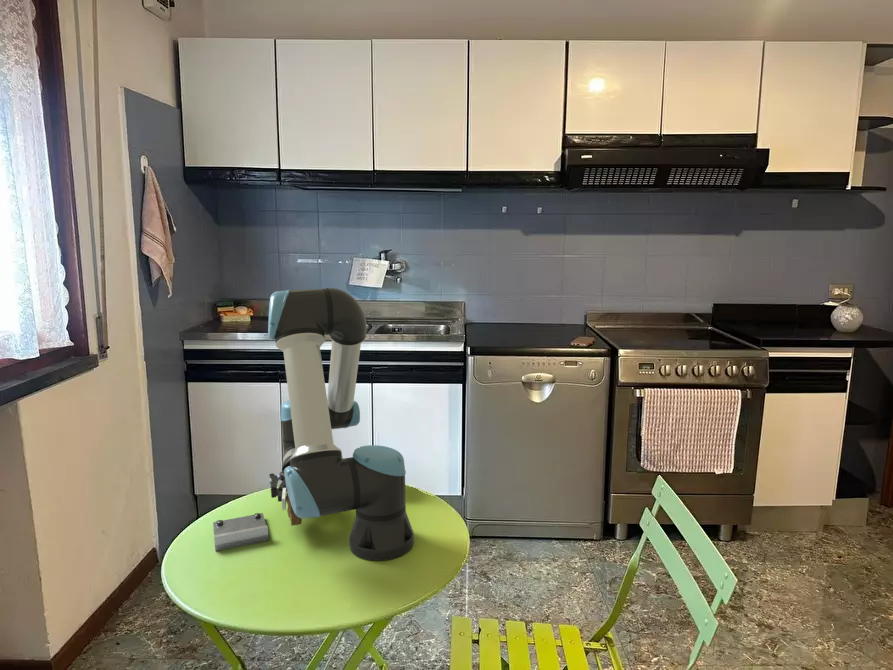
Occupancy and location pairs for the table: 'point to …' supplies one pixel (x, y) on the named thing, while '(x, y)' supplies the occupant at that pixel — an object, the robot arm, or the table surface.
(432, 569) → the table surface
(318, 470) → the robot arm
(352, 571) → the table surface
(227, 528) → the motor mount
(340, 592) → the table surface
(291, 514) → the rock
